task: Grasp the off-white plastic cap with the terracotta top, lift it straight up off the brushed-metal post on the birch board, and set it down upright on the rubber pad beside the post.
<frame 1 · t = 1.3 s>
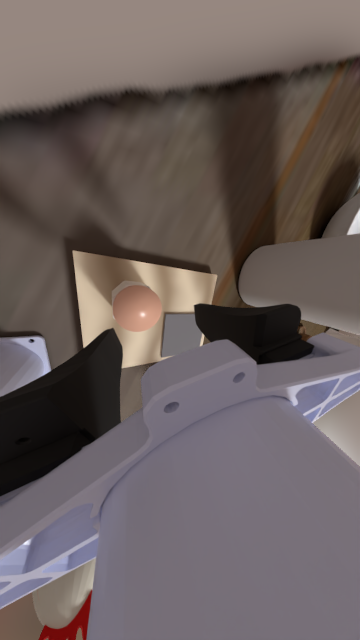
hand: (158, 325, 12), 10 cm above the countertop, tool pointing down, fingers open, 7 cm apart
board: (155, 316, 22), on the countertop
pad: (179, 331, 25), resting on board
kitchen timer: (81, 506, 30), on the countertop
skyscraper: (324, 334, 69), on the countertop
serving bowl: (325, 242, 39), on the countertop
place setting: (290, 344, 54), on the countertop
cylinder vase: (255, 277, 30), on the countertop
cap: (132, 300, 18), point 1 cm above the countertop, touching board
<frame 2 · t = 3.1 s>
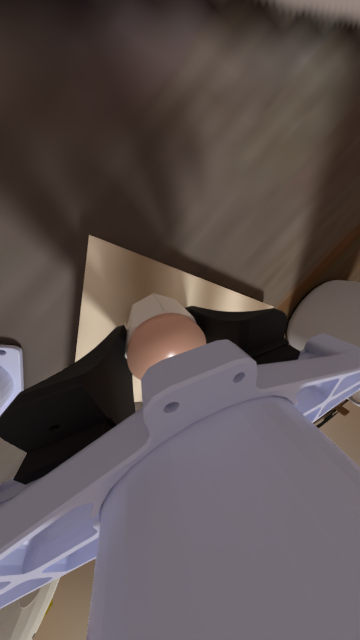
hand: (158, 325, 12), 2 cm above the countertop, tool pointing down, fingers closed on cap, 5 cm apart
board: (179, 343, 16), on the countertop
kitchen timer: (32, 537, 25), on the countertop
skyscraper: (353, 388, 59), on the countertop
cylinder vase: (310, 315, 23), on the countertop
cap: (157, 321, 12), point 2 cm above the countertop, touching board, gripper
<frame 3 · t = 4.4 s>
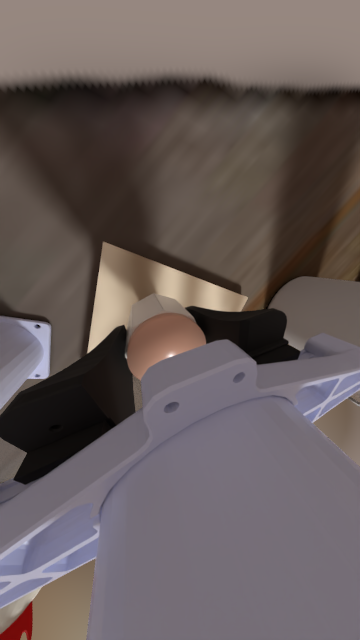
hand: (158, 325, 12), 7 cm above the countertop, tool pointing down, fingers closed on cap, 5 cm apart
board: (170, 327, 20), on the countertop
kitchen timer: (46, 499, 29), on the countertop
skyscraper: (341, 381, 63), on the countertop
cylinder vase: (286, 307, 27), on the countertop
cap: (157, 321, 12), point 6 cm above the countertop, touching gripper
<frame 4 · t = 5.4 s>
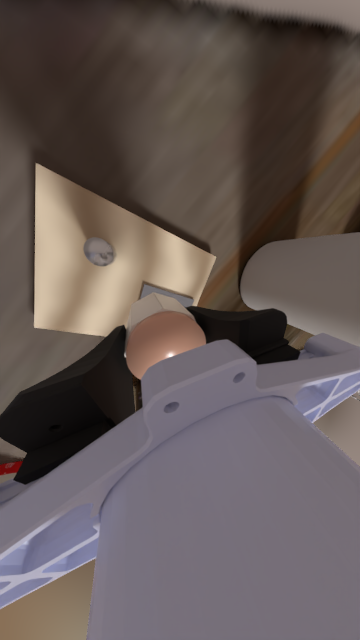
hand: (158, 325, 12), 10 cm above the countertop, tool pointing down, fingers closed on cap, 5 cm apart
board: (134, 286, 19), on the countertop
pad: (160, 312, 22), resting on board
kitchen timer: (12, 479, 27), on the countertop
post: (107, 253, 16), resting on board
cylinder vase: (263, 277, 26), on the countertop
cap: (156, 320, 12), point 9 cm above the countertop, touching gripper
when the fingers open (4 cm above the countertop, at t = 7.6 s): cap drops 2 cm, resting on pad.
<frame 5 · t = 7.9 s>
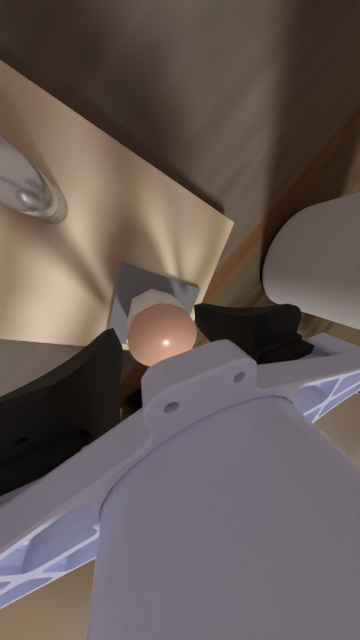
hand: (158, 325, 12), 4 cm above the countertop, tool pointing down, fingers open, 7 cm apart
board: (109, 267, 12), on the countertop
pad: (152, 308, 15), resting on board
supplement bottle: (143, 400, 22), on the countertop
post: (56, 208, 10), resting on board
cylinder vase: (292, 261, 19), on the countertop
cap: (154, 314, 14), point 2 cm above the countertop, touching pad
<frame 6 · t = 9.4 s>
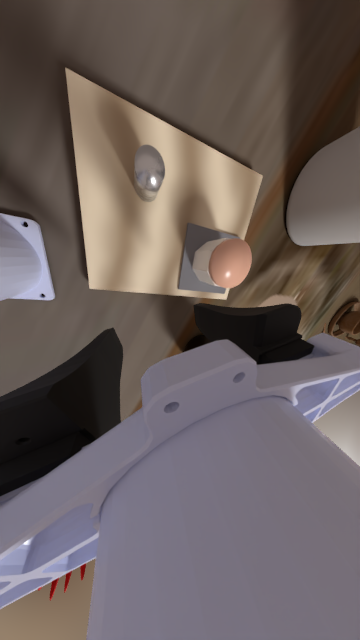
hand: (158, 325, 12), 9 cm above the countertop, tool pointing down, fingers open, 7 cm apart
board: (175, 232, 17), on the countertop
pad: (203, 263, 20), resting on board
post: (145, 193, 15), resting on board
place setting: (336, 327, 45), on the countertop
cylinder vase: (311, 203, 22), on the countertop
cap: (209, 263, 19), point 2 cm above the countertop, touching pad
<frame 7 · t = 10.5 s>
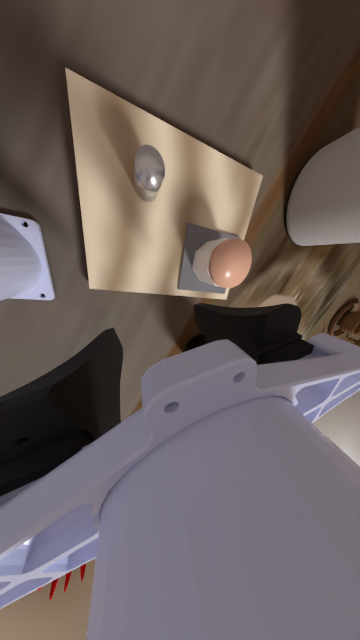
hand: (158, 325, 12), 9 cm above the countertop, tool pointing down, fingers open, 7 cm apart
board: (175, 232, 17), on the countertop
pad: (203, 263, 20), resting on board
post: (145, 193, 15), resting on board
place setting: (336, 327, 45), on the countertop
cylinder vase: (311, 203, 22), on the countertop
cap: (209, 263, 19), point 2 cm above the countertop, touching pad
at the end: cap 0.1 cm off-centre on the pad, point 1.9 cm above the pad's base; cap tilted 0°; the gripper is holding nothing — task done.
